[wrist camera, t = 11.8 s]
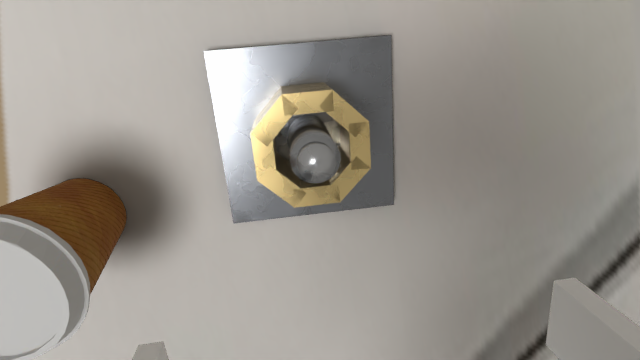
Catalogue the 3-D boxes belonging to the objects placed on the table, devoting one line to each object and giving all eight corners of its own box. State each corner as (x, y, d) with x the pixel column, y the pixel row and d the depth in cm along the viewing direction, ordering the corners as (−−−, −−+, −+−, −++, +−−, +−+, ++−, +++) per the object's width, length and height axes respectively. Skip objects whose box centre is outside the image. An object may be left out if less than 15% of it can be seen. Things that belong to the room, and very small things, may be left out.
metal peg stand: (234, 218, 34) (220, 274, 25) (205, 51, 29) (177, 53, 21) (390, 200, 35) (425, 249, 26) (387, 35, 30) (429, 32, 22)
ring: (263, 186, 32) (261, 211, 27) (250, 89, 29) (245, 97, 24) (358, 176, 32) (372, 198, 28) (353, 79, 30) (367, 86, 25)
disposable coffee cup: (-1, 208, 31) (-158, 300, 20) (80, 135, 30) (-38, 189, 19) (93, 282, 34) (3, 397, 23) (170, 218, 33) (115, 308, 22)
